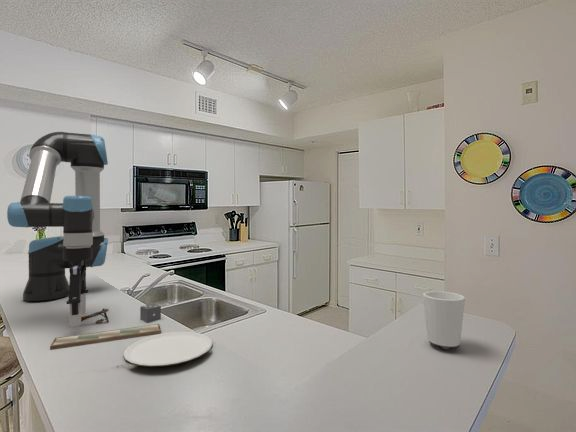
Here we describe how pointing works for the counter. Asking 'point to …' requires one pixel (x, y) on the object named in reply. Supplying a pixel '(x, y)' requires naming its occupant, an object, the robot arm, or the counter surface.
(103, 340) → the board
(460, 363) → the counter surface
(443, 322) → the cup
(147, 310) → the die
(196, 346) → the plate
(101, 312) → the lantern lamp post
